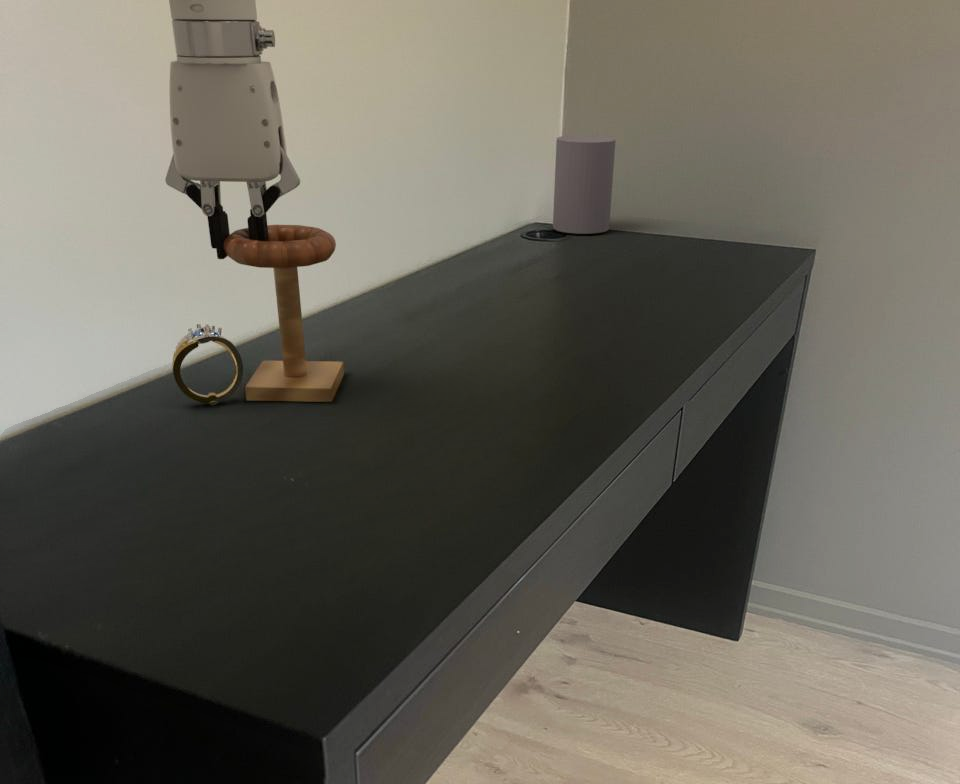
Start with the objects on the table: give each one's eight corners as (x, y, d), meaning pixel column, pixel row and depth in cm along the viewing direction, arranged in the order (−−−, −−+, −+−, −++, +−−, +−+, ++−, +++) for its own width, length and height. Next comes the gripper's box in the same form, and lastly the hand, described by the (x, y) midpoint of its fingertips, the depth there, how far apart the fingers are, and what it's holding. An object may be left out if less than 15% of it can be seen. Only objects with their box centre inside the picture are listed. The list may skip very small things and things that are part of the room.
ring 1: (245, 395, 105) (236, 319, 100) (249, 405, 102) (239, 327, 98) (178, 402, 103) (165, 324, 98) (179, 412, 100) (166, 333, 96)
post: (246, 400, 103) (229, 266, 96) (264, 373, 111) (249, 246, 103) (331, 402, 103) (321, 267, 96) (344, 374, 111) (335, 247, 103)
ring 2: (214, 269, 95) (211, 242, 94) (240, 245, 104) (237, 221, 103) (326, 271, 95) (324, 245, 94) (342, 248, 104) (341, 224, 103)
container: (619, 229, 182) (626, 138, 174) (590, 238, 175) (596, 144, 167) (571, 222, 187) (576, 133, 179) (541, 230, 180) (545, 139, 172)
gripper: (313, 44, 93) (327, 250, 103) (141, 41, 93) (172, 247, 103) (299, 47, 86) (315, 266, 96) (114, 44, 87) (150, 263, 97)
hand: (241, 254), depth 100 cm, fingers closed on ring 2, 2 cm apart
